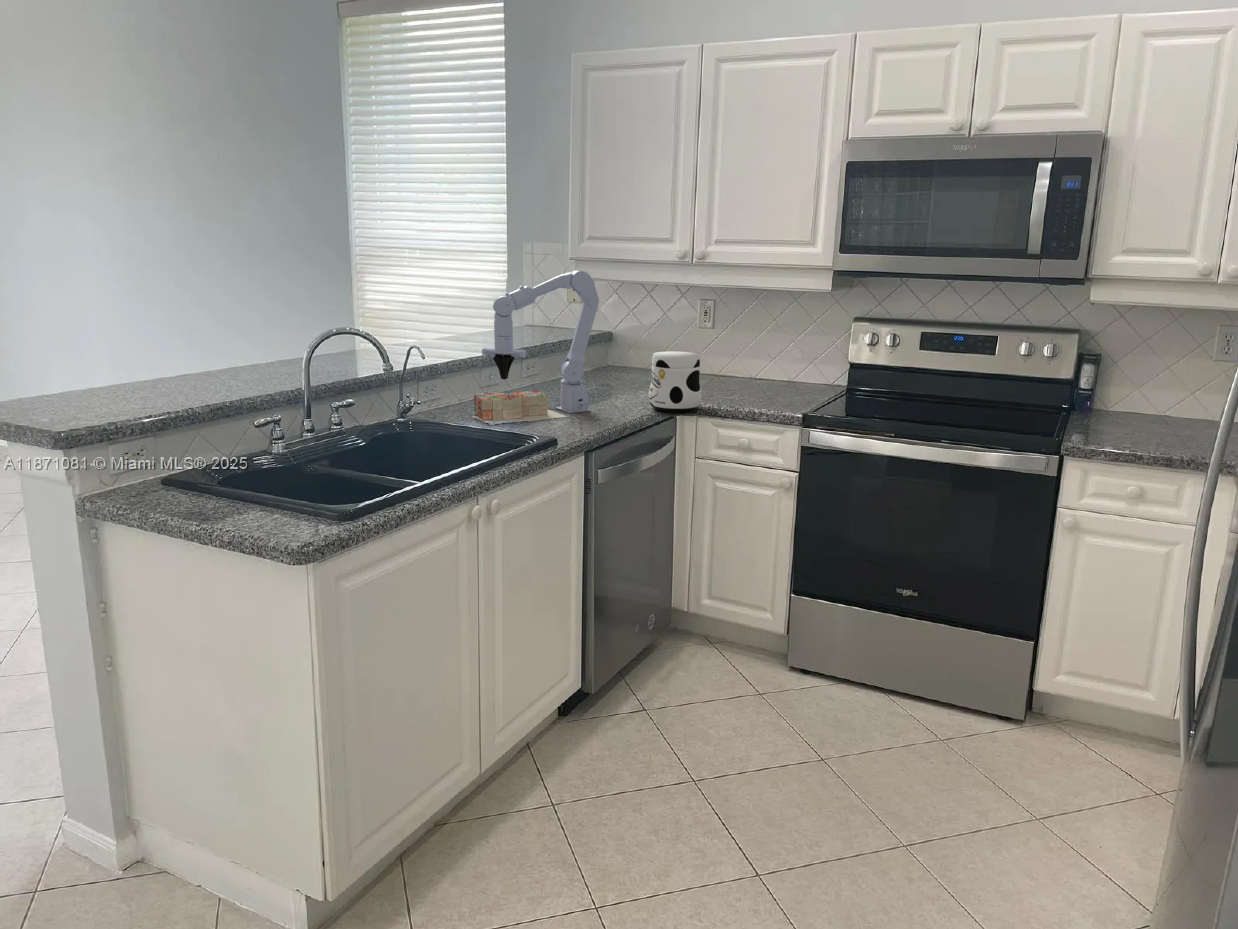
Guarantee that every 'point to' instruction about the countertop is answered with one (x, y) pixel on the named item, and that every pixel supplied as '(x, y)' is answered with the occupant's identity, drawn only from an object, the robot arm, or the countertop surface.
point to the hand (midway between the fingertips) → (504, 378)
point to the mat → (532, 417)
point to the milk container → (675, 381)
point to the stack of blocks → (510, 405)
